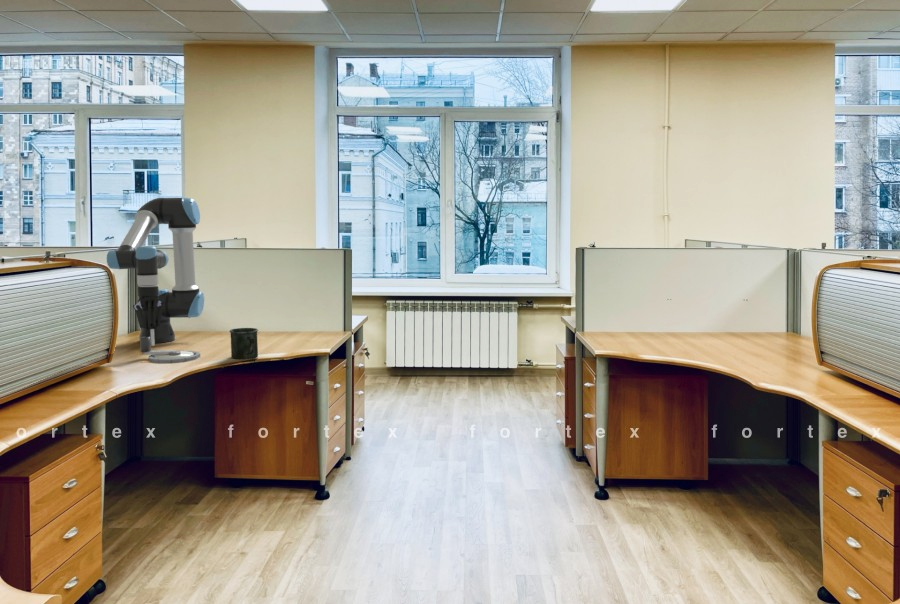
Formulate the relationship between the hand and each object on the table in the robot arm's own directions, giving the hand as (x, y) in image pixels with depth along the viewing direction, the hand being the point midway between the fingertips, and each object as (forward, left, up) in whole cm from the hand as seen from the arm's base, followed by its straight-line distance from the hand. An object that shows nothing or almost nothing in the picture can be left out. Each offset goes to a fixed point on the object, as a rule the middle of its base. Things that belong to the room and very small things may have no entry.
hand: (150, 345), depth 280 cm
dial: (+7, +4, -5) cm, 9 cm away
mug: (+26, +28, -6) cm, 39 cm away
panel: (+9, +6, -6) cm, 12 cm away
